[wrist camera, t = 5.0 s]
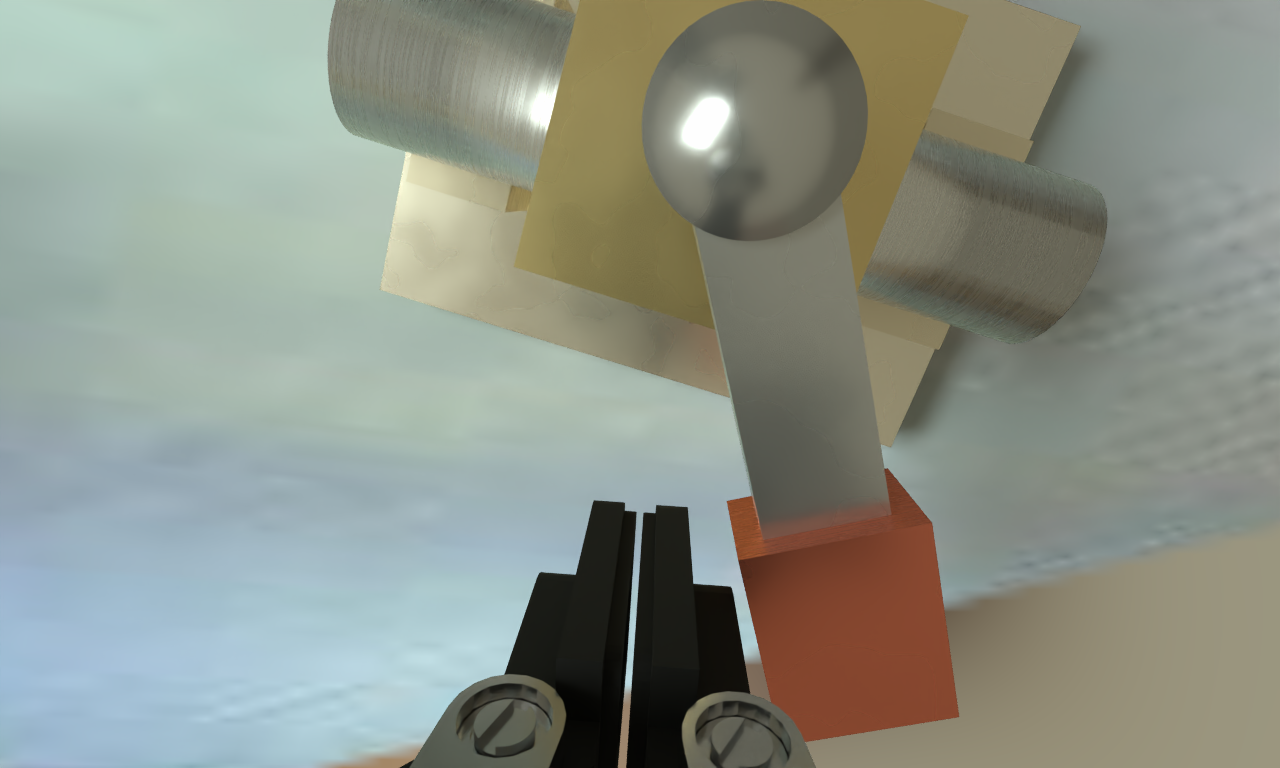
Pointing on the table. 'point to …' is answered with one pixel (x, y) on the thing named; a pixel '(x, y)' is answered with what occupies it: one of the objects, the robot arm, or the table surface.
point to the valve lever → (800, 367)
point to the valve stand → (654, 232)
